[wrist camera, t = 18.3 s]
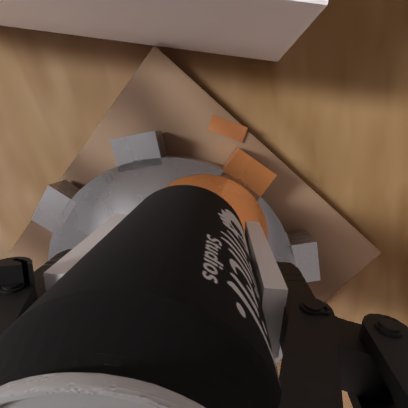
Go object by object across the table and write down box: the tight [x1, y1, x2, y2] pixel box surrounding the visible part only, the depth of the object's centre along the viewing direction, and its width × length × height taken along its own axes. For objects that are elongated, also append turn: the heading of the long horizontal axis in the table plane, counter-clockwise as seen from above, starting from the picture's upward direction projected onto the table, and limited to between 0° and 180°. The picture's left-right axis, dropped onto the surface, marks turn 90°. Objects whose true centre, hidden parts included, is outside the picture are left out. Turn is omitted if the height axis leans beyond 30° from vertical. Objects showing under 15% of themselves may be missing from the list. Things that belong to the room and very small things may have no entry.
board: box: [6, 45, 382, 302], centre depth 21 cm, size 22×21×1 cm
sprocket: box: [31, 131, 320, 364], centre depth 18 cm, size 20×20×6 cm
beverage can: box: [0, 185, 282, 408], centre depth 10 cm, size 7×7×12 cm
